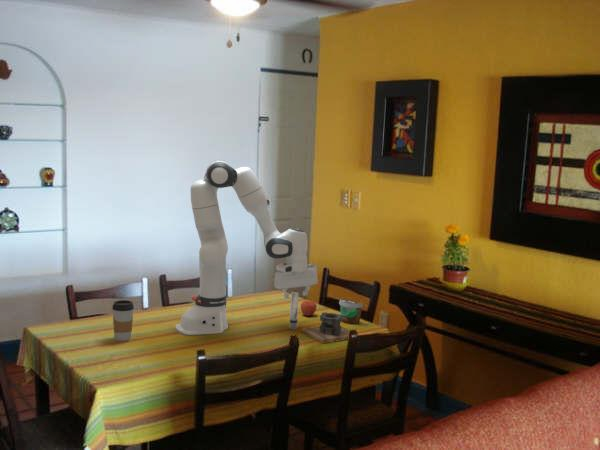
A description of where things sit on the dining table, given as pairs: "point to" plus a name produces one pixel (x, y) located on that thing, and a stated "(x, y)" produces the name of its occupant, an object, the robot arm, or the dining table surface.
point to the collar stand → (328, 329)
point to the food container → (350, 311)
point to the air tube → (294, 310)
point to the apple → (308, 307)
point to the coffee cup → (122, 319)
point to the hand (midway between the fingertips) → (295, 296)
